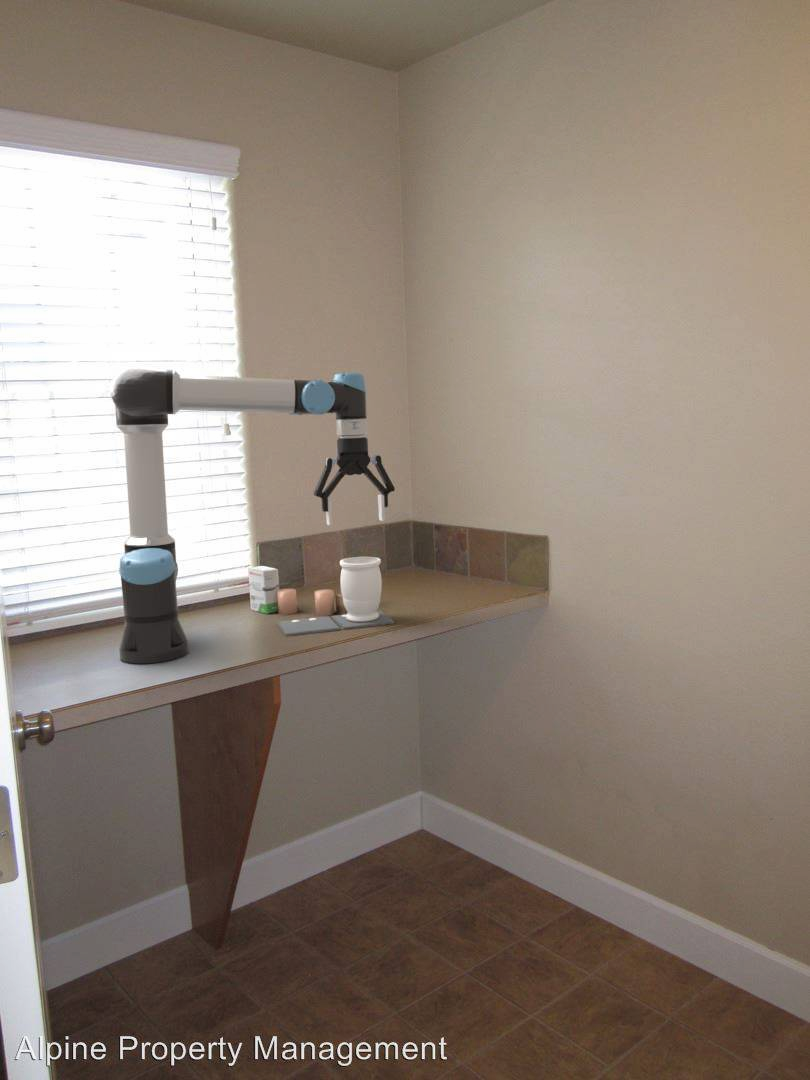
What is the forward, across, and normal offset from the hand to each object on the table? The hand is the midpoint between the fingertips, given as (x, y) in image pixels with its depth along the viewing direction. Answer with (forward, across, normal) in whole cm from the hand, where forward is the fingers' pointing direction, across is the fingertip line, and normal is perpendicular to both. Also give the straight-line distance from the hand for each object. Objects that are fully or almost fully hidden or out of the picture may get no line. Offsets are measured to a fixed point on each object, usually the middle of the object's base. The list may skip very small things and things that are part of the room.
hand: (356, 522), depth 221 cm
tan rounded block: (+25, -15, +19) cm, 35 cm away
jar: (+24, 0, 0) cm, 25 cm away
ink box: (+25, -20, +24) cm, 40 cm away
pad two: (+25, -14, 0) cm, 29 cm away
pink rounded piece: (+25, -6, +12) cm, 29 cm away
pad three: (+25, 0, 0) cm, 25 cm away
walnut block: (+25, 0, +10) cm, 27 cm away
